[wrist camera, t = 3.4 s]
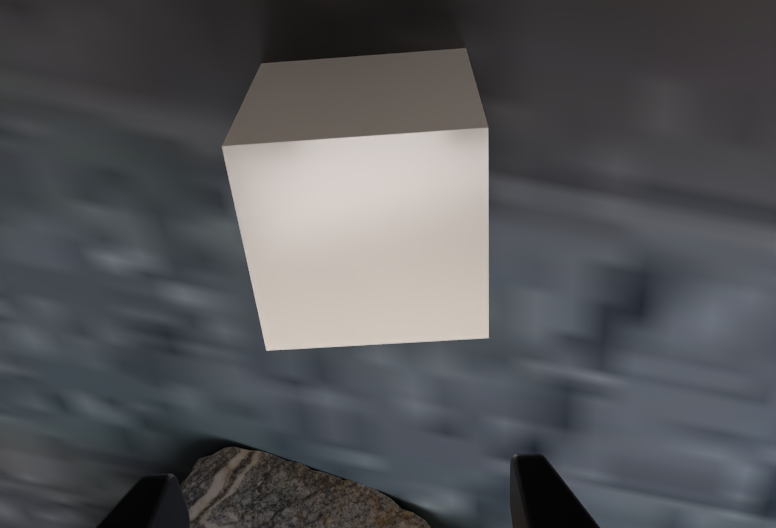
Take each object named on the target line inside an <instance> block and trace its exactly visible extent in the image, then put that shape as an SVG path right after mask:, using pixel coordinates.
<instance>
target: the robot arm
mask: <svg viewBox="0 0 776 528" xmlns="http://www.w3.org/2000/svg"><path fill="white" fill-rule="evenodd" d="M510 507H511V516H512V524H513V528H600V527H599V526H598V524H597V523H596V522H595V521H594V519H593V518H592V517H591V515H590V514H589V513H588V512H587V510H586V509H585V508H584V506H583V505H582V504H581V503H580V501H579V500H578V499H577V497H576V496H575V495H574V494H573V492H572V491H571V490H570V488H569V487H568V486H567V485H566V483H565V482H564V481H563V479H562V478H561V477H560V476H559V474H558V473H557V472H556V470H555V469H554V468H553V467H552V465H551V464H550V463H549V461H548V460H547V459H546V458H545V457H544V456H543V455H542V454H540V453H529V454H516V455H514V456H512V458H511V465H510ZM95 528H190V516H189V511H188V508H187V505H186V502H185V499H184V496H183V494H182V491H181V488H180V485H179V482H178V480H177V478H176V476H175V475H173V474H171V473H162V474H148V475H145V476H143V477H142V478H140V479H139V480H138V481H137V482H136V483H135V485H134V486H133V487H132V488H131V489H130V490H129V491H128V492H127V493H126V494H125V496H124V497H123V498H122V499H121V500H120V501H119V502H118V503H117V504H116V505H115V507H114V508H113V509H112V510H111V511H110V512H109V513H108V514H107V515H106V516H105V517H104V519H103V520H102V521H101V522H100V523H99V524H98V525H97V526H96V527H95Z"/></svg>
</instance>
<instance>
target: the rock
mask: <svg viewBox="0 0 776 528" xmlns="http://www.w3.org/2000/svg"><path fill="white" fill-rule="evenodd" d="M180 488H181V491H182V494H183V496H184V499H185V502H186V505H187V508H188V511H189V516H190V528H431V527H430V526H429V525H428V523H427V522H426V521H425V520H424V519H422V518H421V517H419V516H417V515H416V514H414V513H413V512H410V511H406V510H403V509H401V508H400V507H399V506H398V505H397V504H396V503H395V502H394V501H393V500H392V499H391V498H389V497H388V496H386V495H384V494H382V493H380V492H379V491H377V490H375V489H373V488H371V487H368V486H365V485H362V484H360V483H357V482H354V481H351V480H348V479H347V480H342V479H341V478H339V477H336V476H334V475H331V474H328V473H324V472H321V471H313V470H311V469H309V468H308V467H307V466H305V465H303V464H301V463H298V462H292V461H286V460H284V459H282V458H279V457H277V456H275V455H272V454H269V453H266V452H263V451H252V450H245V449H241V448H238V447H227V448H223V449H222V450H220V451H218V452H216V453H214V454H213V455H211V456H205V457H201V458H200V459H198V461H197V462H196V463H195V464H194V466H193V469H192V471H191V473H190V475H189V476H188V477H187V478H186V479H185V480H184V481H183V482H182V483H181V484H180Z"/></svg>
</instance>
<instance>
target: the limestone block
mask: <svg viewBox="0 0 776 528" xmlns="http://www.w3.org/2000/svg"><path fill="white" fill-rule="evenodd" d="M222 150H223V154H224V159H225V164H226V168H227V173H228V177H229V182H230V186H231V191H232V196H233V200H234V205H235V209H236V214H237V218H238V223H239V228H240V232H241V237H242V241H243V246H244V250H245V255H246V260H247V264H248V269H249V273H250V278H251V282H252V287H253V292H254V296H255V301H256V305H257V310H258V314H259V319H260V323H261V328H262V333H263V337H264V342H265V346H266V351H269V350H287V349H305V348H323V347H340V346H358V345H376V344H393V343H411V342H429V341H446V340H464V339H482V338H489V154H488V124H487V121H486V117H485V114H484V110H483V106H482V103H481V99H480V96H479V92H478V89H477V85H476V82H475V78H474V75H473V71H472V68H471V64H470V61H469V57H468V54H467V50H466V48H460V49H447V50H434V51H420V52H407V53H394V54H380V55H367V56H354V57H341V58H327V59H314V60H301V61H287V62H274V63H261V65H260V67H259V69H258V71H257V73H256V76H255V78H254V80H253V82H252V84H251V86H250V88H249V90H248V92H247V94H246V96H245V99H244V101H243V103H242V105H241V107H240V109H239V111H238V113H237V115H236V117H235V119H234V121H233V124H232V126H231V128H230V130H229V132H228V134H227V136H226V138H225V140H224V142H223V144H222Z"/></svg>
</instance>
